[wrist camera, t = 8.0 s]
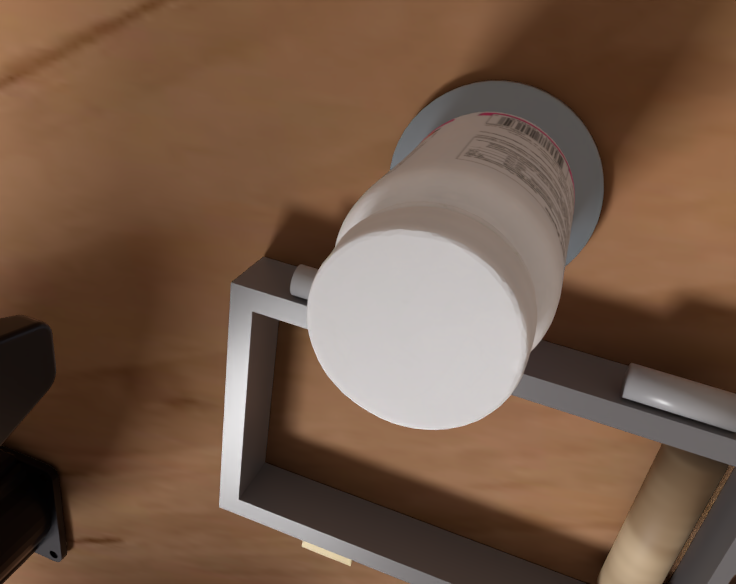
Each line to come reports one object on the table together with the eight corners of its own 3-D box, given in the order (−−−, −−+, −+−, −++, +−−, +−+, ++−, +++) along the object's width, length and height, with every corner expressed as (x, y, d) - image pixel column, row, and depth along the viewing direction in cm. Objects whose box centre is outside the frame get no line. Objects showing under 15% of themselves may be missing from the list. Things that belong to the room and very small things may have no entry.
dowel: (590, 564, 23) (639, 571, 23) (605, 610, 21) (658, 617, 22) (655, 427, 20) (711, 435, 20) (679, 469, 18) (739, 477, 18)
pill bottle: (431, 283, 20) (330, 455, 13) (388, 133, 18) (244, 233, 11) (592, 258, 18) (577, 443, 11) (558, 87, 16) (514, 173, 9)
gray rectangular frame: (662, 641, 24) (666, 699, 22) (245, 480, 27) (218, 517, 25) (815, 389, 18) (839, 436, 16) (265, 230, 22) (232, 254, 20)
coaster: (566, 308, 19) (565, 313, 19) (378, 254, 21) (374, 258, 20) (636, 106, 16) (636, 109, 16) (412, 59, 18) (408, 60, 17)
